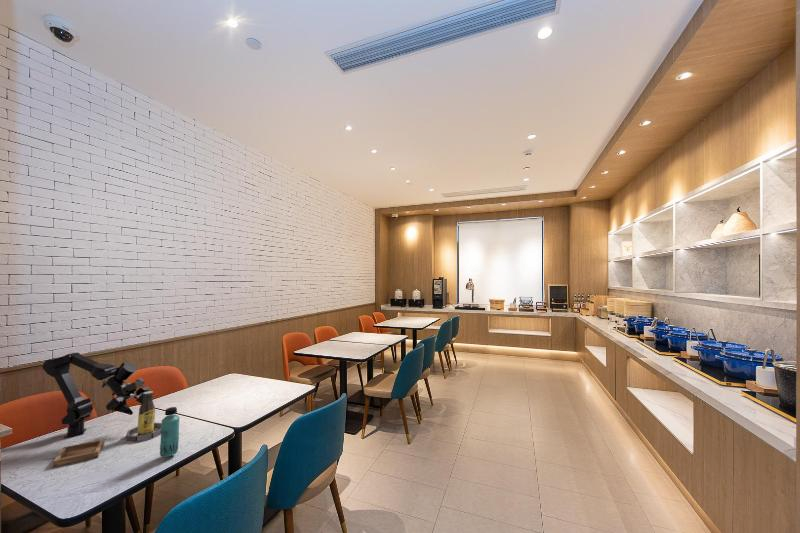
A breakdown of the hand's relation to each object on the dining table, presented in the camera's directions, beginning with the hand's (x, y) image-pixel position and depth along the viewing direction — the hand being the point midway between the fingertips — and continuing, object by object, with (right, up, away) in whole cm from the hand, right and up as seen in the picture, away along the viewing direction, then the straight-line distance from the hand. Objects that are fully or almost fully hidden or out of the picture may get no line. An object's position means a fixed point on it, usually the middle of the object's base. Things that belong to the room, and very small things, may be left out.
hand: (140, 410), depth 152 cm
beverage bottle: (+28, -11, -20) cm, 36 cm away
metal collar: (+3, -11, -1) cm, 12 cm away
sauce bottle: (+3, -12, -1) cm, 12 cm away
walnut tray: (-10, -10, -19) cm, 24 cm away
